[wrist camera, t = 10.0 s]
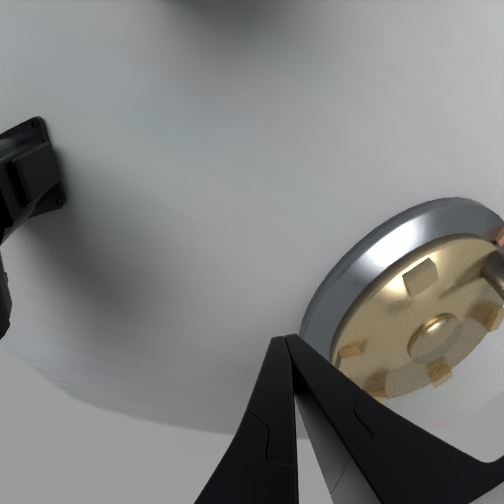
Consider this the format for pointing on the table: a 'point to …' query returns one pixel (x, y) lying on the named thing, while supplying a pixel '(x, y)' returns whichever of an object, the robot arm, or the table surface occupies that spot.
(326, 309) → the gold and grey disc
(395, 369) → the gold wheel with handle
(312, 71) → the table surface
